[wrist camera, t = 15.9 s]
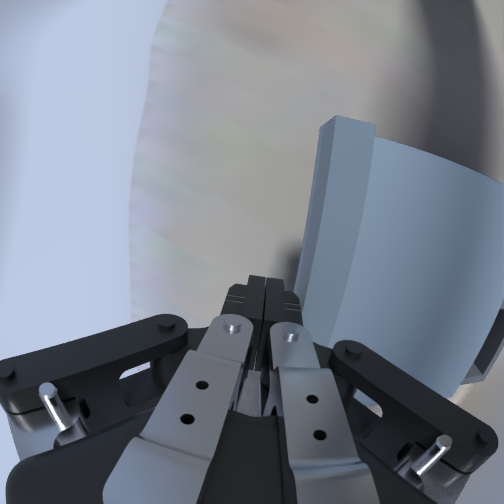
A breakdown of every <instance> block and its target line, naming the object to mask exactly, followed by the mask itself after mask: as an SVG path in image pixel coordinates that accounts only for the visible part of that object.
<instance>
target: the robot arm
mask: <svg viewBox="0 0 504 504" xmlns="http://www.w3.org/2000/svg"><path fill="white" fill-rule="evenodd" d="M265 280H266V285H265ZM256 351H257V353H256ZM255 357H256V363H255V371H261V375H260V380H259V385H258V404H259V417H251V416H248V415H245V414H242V413H239V412H237V409H238V406H239V402H240V398H241V394H242V390H243V387H244V381H245V379H246V378H247V375H248V370H253V367H254V362H255ZM149 361H150V368H148V369H145V370H143V371H140V372H138V373H135V374H133V375H130V376H128V377H125V378H123V379H120V380H119V378H120V376H121V375H122V373H123V372H125V371H126V370H128V369H131V368H134V367H137V366H139V365H142V364H144V363H147V362H149ZM357 389H359V390H360V391H361V392H363V393H364V394H365V395H367V396H368V397H369V398H371V399H372V400H373V401H375V402H376V403H377V404H378V405H379V406H380V407H381V409H382V412H383V415H382V417H379V416H378V415H376V414H375V413H374V412H372V411H371V410H370V409H368V408H367V407H366V406H364V405H363V404H362V403H361V402H359V401H358V400H357V399H355V398H354V395H355V393H356V391H357ZM0 404H1V406H2V408H3V409H4V411H5V412H6V414H7V417H8V421H9V425H10V429H11V433H12V436H13V439H14V443H15V446H16V449H17V452H18V455H19V458H20V462H19V463H18V464H17V465H16V466H15V467H14V468H13V469H12V471H11V472H10V474H9V476H8V479H7V483H6V504H455V502H456V500H457V499H458V497H459V495H460V493H461V492H462V490H463V488H464V486H465V484H466V482H467V481H468V479H469V477H470V475H471V474H472V473H473V472H474V471H475V470H477V469H478V468H479V467H480V466H481V465H482V464H483V463H484V462H485V461H486V460H488V459H489V458H490V457H491V456H492V455H493V454H494V453H495V452H496V450H497V448H498V437H497V435H496V433H495V431H494V430H493V429H492V428H491V427H490V426H489V425H487V424H485V423H484V422H482V421H481V420H479V419H477V418H476V417H474V416H472V415H471V414H470V413H468V412H466V411H465V410H463V409H462V408H460V407H459V406H457V405H455V404H454V403H452V402H451V401H449V400H448V399H446V398H444V397H443V396H441V395H440V394H438V393H437V392H435V391H434V390H432V389H431V388H429V387H427V386H426V385H424V384H423V383H421V382H420V381H418V380H417V379H415V378H414V377H412V376H411V375H409V374H407V373H406V372H404V371H403V370H401V369H400V368H398V367H397V366H395V365H394V364H392V363H391V362H389V361H388V360H386V359H385V358H383V357H382V356H380V355H379V354H377V353H376V352H374V351H373V350H371V349H370V348H368V347H367V346H365V345H363V344H362V343H360V342H357V341H353V340H341V341H338V342H337V343H335V345H334V347H333V349H332V348H328V347H325V346H322V345H319V344H317V343H315V342H313V341H312V338H311V335H310V332H309V331H308V330H307V329H306V328H305V327H304V326H303V319H302V313H301V307H300V300H299V297H298V296H297V295H296V294H295V293H294V292H290V291H284V283H283V280H282V279H275V278H268V277H267V279H266V277H261V276H254V275H249V279H248V284H247V285H242V284H235V285H233V286H232V287H230V288H229V291H228V293H227V296H226V300H225V302H224V305H223V308H222V311H221V314H220V316H217V317H215V318H214V319H213V321H212V322H211V324H210V326H209V327H206V328H188V325H187V322H186V321H185V320H184V319H183V318H181V317H179V316H176V315H172V314H160V315H155V316H152V317H149V318H146V319H143V320H140V321H137V322H133V323H130V324H127V325H124V326H120V327H117V328H114V329H111V330H107V331H104V332H101V333H98V334H94V335H91V336H87V337H84V338H80V339H77V340H74V341H71V342H67V343H63V344H60V345H56V346H52V347H49V348H45V349H42V350H38V351H34V352H30V353H27V354H23V355H19V356H16V357H11V358H8V359H4V360H1V361H0ZM155 407H156V408H155Z"/></svg>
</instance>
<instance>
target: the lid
mask: <svg viewBox="0 0 504 504" xmlns="http://www.w3.org/2000/svg"><path fill="white" fill-rule="evenodd" d="M375 128H376V125H374V124H370V123H367V122H363V121H359V120H355V119H350V118H346V117H341V116H337V115H336V116H334V117H333V118H332V119H330V120H329V121H328V122H326V123H325V124H324V125H322V126H321V127H320V131H319V139H318V147H317V155H316V162H315V169H314V176H313V183H312V190H311V196H310V203H309V209H308V215H307V221H306V227H305V233H304V239H303V244H302V250H301V255H300V261H299V266H298V271H297V276H296V282H295V287H294V293H295V294H296V295H297V296H298V297H299V300H300V307H301V313H302V319H303V326H304V327H305V328H306V329H307V330H308V331H309V332H310V335H311V338H312V341H313V342H315V343H317V344H319V345H322V346H325V347H328V348H332V349H333V347H334V345H335V343H337V342H338V341H341V340H353V341H357V342H360V343H362V344H363V345H365V346H367V347H368V348H370V349H371V350H373V351H374V352H376V353H377V354H379V355H380V356H382V357H383V358H385V359H386V360H388V361H389V362H391V363H392V364H394V365H395V366H397V367H398V368H400V369H401V370H403V371H404V372H406V373H407V374H409V375H411V376H412V377H414V378H415V379H417V380H418V381H420V382H421V383H423V384H424V385H426V386H427V387H429V388H431V389H432V390H434V391H435V392H437V393H438V394H440V395H441V396H443V397H444V398H449V397H452V396H453V394H454V393H455V391H456V390H457V388H458V387H459V385H460V384H461V382H462V381H463V379H464V377H465V376H466V374H467V372H468V371H469V369H470V367H471V366H472V364H473V362H474V360H475V359H476V357H477V355H478V353H479V351H480V349H481V348H482V346H483V344H484V342H485V340H486V338H487V336H488V334H489V332H490V329H491V327H492V325H493V323H494V321H495V319H496V316H497V314H498V312H499V309H500V307H501V304H502V302H503V299H504V185H503V184H502V183H500V182H498V181H495V180H493V179H491V178H489V177H487V176H485V175H483V174H481V173H478V172H476V171H474V170H472V169H469V168H467V167H465V166H462V165H460V164H457V163H455V162H452V161H450V160H447V159H445V158H442V157H439V156H436V155H434V154H431V153H428V152H425V151H422V150H419V149H416V148H413V147H410V146H407V145H404V144H401V143H397V142H394V141H390V140H387V139H383V138H380V137H376V136H375ZM354 398H355V399H357V400H358V401H359V402H361V403H362V404H363V405H364V406H371V405H378V404H377V403H376V402H375V401H373V400H372V399H371V398H369V397H368V396H367V395H365V394H364V393H363V392H361V391H360V390H359V389H357V391H356V393H355V395H354Z"/></svg>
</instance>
